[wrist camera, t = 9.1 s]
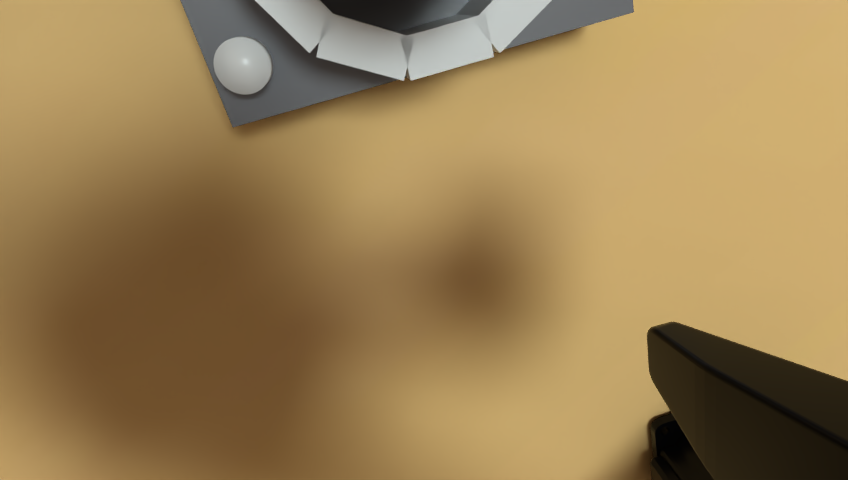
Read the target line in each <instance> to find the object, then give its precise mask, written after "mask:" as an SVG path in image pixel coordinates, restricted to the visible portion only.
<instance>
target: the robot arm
mask: <svg viewBox="0 0 848 480" xmlns="http://www.w3.org/2000/svg"><path fill="white" fill-rule="evenodd" d="M647 345H648V362H649V372H650V375H651V378H652V381H653V383H654V384H655V386H656V388H657V389H658V391H659V393H660V394H661V396H662V398H663V399H664V401H665V403H666V404H667V406H668V408H669V409H670V411H671V413H672V414H669V415H666V416H663V417H660V418H658V419H656V420H655V421H654V422H653V423H652V424H651V439H652V450H653V458H652V460H651V463H650V465H651V475H652V480H848V381H846V380H843V379H840V378H837V377H834V376H831V375H829V374H826V373H823V372H820V371H817V370H814V369H811V368H808V367H805V366H802V365H799V364H797V363H794V362H791V361H788V360H785V359H782V358H779V357H776V356H773V355H770V354H767V353H764V352H762V351H759V350H756V349H753V348H750V347H747V346H744V345H741V344H738V343H735V342H732V341H730V340H727V339H724V338H721V337H718V336H715V335H712V334H709V333H706V332H703V331H700V330H698V329H695V328H692V327H689V326H686V325H683V324H680V323H677V322H668V323H665V324H661V325H657V326H654V327H651V328H650V329H649V330H648V333H647Z"/></svg>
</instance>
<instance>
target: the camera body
mask: <svg viewBox="0 0 848 480" xmlns="http://www.w3.org/2000/svg"><path fill="white" fill-rule="evenodd" d="M181 3H182V5H183V8H184V10H185V12H186V15H187V17H188V20H189V22H190V25H191V27H192V29H193V32H194V34H195V37H196V39H197V42H198V44H199V47H200V49H201V51H202V54H203V56H204V59H205V61H206V64H207V66H208V68H209V71H210V73H211V76H212V78H213V81H214V83H215V85H216V88H217V90H218V93H219V95H220V98H221V100H222V102H223V105H224V107H225V110H226V112H227V115H228V117H229V119H230V122H231V124H232V127H236V126H240V125H243V124H247V123H250V122H254V121H257V120H261V119H264V118H267V117H271V116H274V115H278V114H281V113H285V112H288V111H292V110H295V109H299V108H302V107H306V106H309V105H313V104H316V103H320V102H323V101H327V100H330V99H334V98H337V97H340V96H344V95H347V94H351V93H354V92H358V91H361V90H365V89H368V88H372V87H375V86H379V85H382V84H386V83H389V82H393V81H396V80H403V81H404V78H408V79H409V80H411V81H412V80H415V79H419V78H422V77H426V76H429V75H433V74H436V73H440V72H443V71H447V70H450V69H454V68H457V67H461V66H464V65H467V64H471V63H474V62H478V61H481V60H485V59H488V58H492V57H494V55H493V52H498V53H501V52H502V51H503V50H504V49H507V48H511V47H514V46H518V45H521V44H525V43H528V42H532V41H535V40H539V39H542V38H546V37H549V36H553V35H556V34H560V33H563V32H566V31H570V30H573V29H577V28H580V27H584V26H587V25H591V24H594V23H598V22H601V21H605V20H608V19H612V18H615V17H619V16H622V15H626V14H629V13H633V12H634V9H633V0H181Z"/></svg>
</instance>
